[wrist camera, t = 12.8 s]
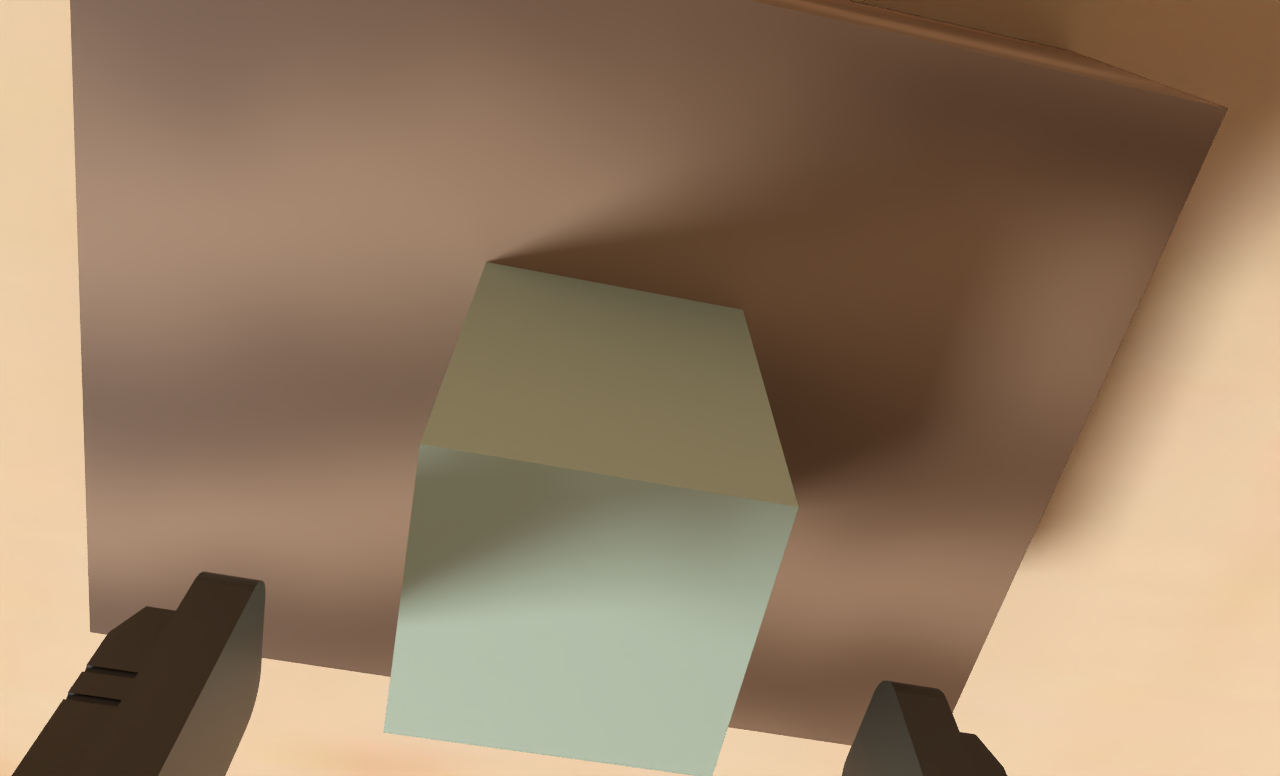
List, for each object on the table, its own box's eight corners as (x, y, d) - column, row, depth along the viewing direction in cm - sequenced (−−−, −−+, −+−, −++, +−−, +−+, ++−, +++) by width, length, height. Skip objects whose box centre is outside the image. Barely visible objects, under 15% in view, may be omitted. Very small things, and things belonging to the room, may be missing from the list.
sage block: (486, 261, 19) (419, 443, 13) (742, 309, 20) (798, 506, 13) (454, 484, 21) (383, 732, 15) (686, 522, 22) (711, 777, 16)
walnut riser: (221, -144, 22) (64, -155, 16) (1072, 51, 24) (1227, 108, 18) (204, 471, 29) (90, 632, 23) (870, 582, 31) (932, 757, 25)
